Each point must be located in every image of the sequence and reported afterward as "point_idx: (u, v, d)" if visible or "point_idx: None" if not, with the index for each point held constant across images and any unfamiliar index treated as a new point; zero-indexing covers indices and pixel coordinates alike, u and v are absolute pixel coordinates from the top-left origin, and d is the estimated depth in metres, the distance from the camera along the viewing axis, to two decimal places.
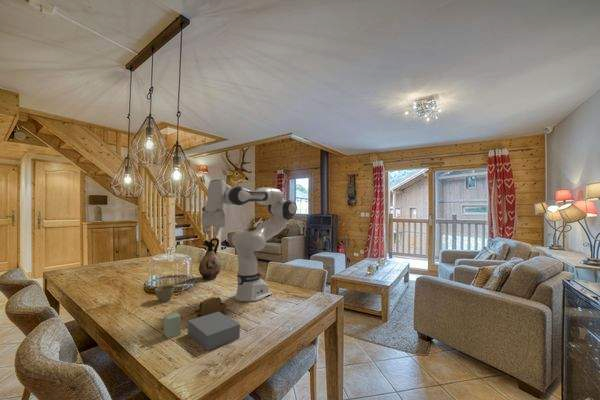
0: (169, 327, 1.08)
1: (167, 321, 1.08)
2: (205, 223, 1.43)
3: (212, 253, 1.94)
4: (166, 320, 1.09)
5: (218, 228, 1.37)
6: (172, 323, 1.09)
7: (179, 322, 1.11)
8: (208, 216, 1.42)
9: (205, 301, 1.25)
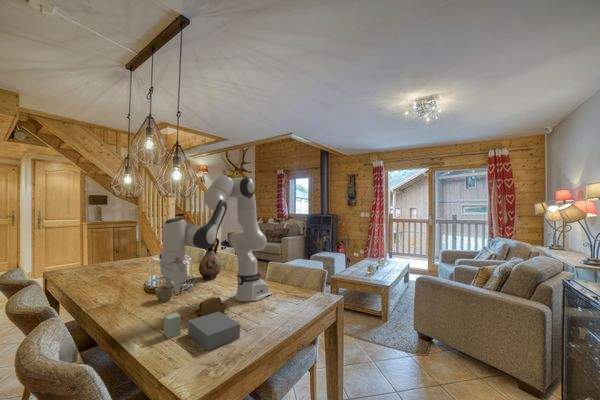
0: (169, 327, 1.08)
1: (167, 321, 1.08)
2: (164, 274, 1.14)
3: (212, 253, 1.94)
4: (166, 320, 1.09)
5: (179, 283, 1.07)
6: (172, 323, 1.09)
7: (179, 322, 1.11)
8: (167, 266, 1.13)
9: (205, 301, 1.25)
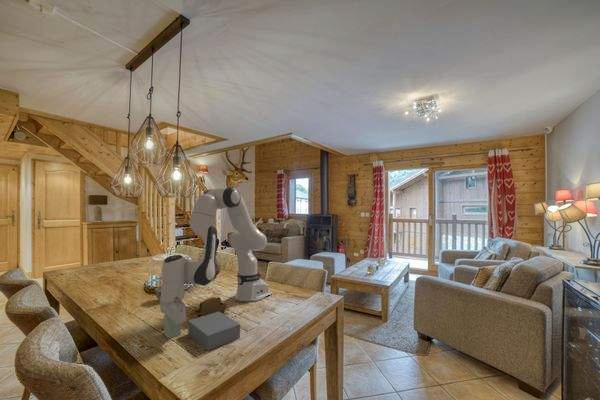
0: (169, 327, 1.08)
1: (167, 321, 1.08)
2: (164, 312, 1.14)
3: None
4: (166, 319, 1.09)
5: None
6: (172, 323, 1.09)
7: None
8: None
9: (205, 301, 1.24)
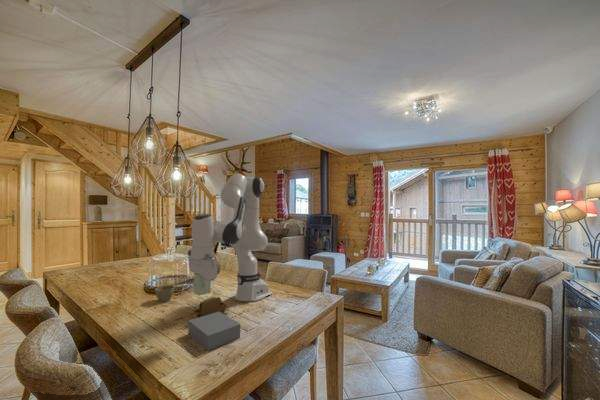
0: (199, 284, 1.08)
1: (198, 278, 1.08)
2: (193, 270, 1.13)
3: None
4: (196, 277, 1.09)
5: (208, 279, 1.08)
6: (202, 280, 1.09)
7: None
8: (196, 262, 1.12)
9: (205, 301, 1.25)
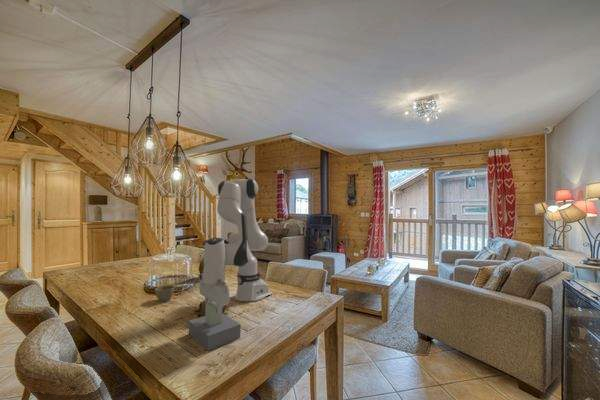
0: (211, 315, 1.08)
1: (210, 308, 1.07)
2: (204, 295, 1.13)
3: None
4: (208, 307, 1.09)
5: None
6: (214, 310, 1.08)
7: None
8: (207, 286, 1.12)
9: (205, 301, 1.25)
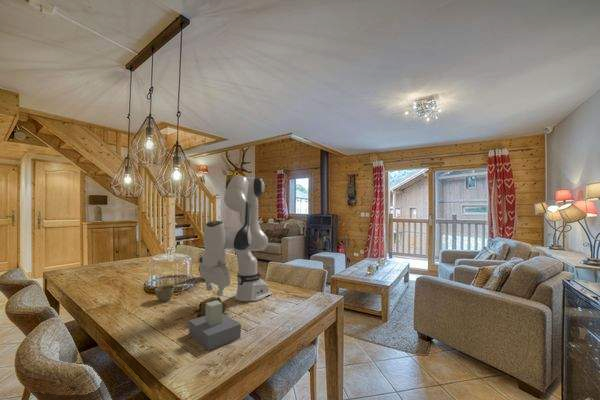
0: (212, 315, 1.07)
1: (210, 308, 1.07)
2: (205, 277, 1.13)
3: None
4: (208, 307, 1.09)
5: (222, 287, 1.07)
6: (214, 310, 1.08)
7: (221, 310, 1.10)
8: (208, 269, 1.12)
9: (205, 301, 1.25)
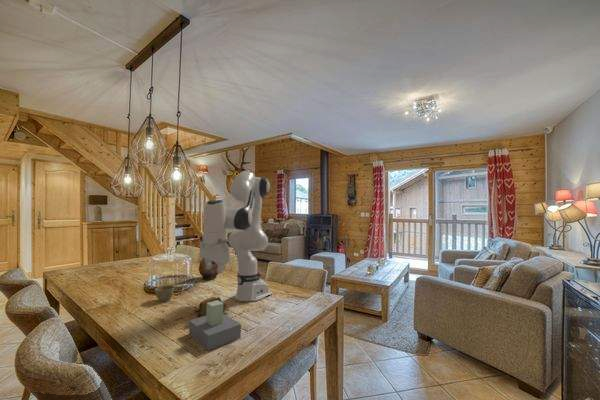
0: (212, 315, 1.07)
1: (211, 308, 1.07)
2: (205, 256, 1.13)
3: None
4: (209, 307, 1.09)
5: (222, 264, 1.07)
6: (215, 310, 1.08)
7: (221, 310, 1.10)
8: (208, 248, 1.12)
9: (205, 301, 1.25)
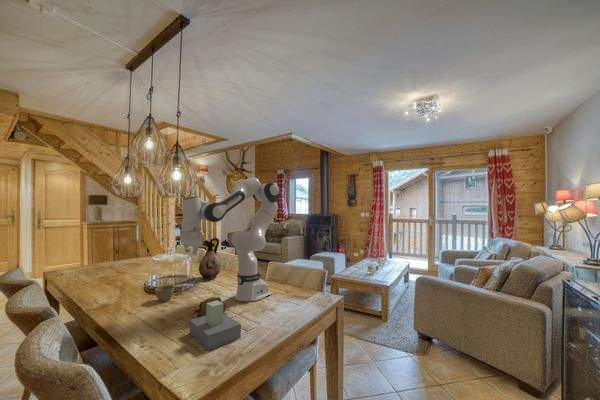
0: (213, 315, 1.07)
1: (211, 308, 1.07)
2: (184, 242, 1.40)
3: (212, 253, 1.94)
4: (209, 307, 1.09)
5: (196, 248, 1.34)
6: (215, 310, 1.08)
7: (222, 310, 1.10)
8: (186, 235, 1.39)
9: (205, 301, 1.25)
